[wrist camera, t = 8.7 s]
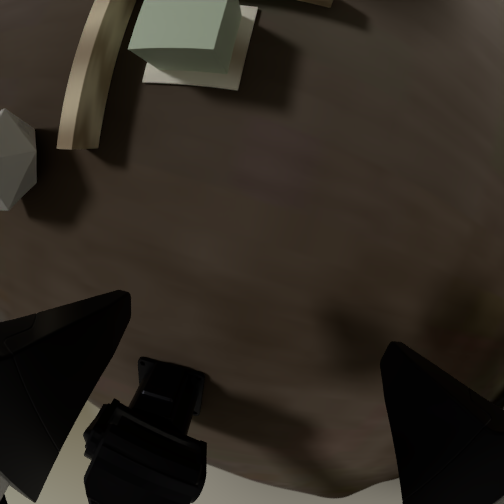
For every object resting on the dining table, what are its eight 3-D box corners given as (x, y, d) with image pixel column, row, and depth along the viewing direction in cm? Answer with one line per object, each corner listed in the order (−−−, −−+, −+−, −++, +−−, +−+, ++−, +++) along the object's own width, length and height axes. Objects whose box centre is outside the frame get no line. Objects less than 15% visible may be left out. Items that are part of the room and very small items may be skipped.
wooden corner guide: (295, 179, 19) (301, 184, 16) (83, 147, 19) (56, 148, 15) (332, -6, 14) (341, -28, 10) (129, -17, 14) (111, -34, 10)
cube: (242, 15, 15) (233, -20, 10) (227, 74, 16) (213, 49, 12) (175, 13, 15) (151, -18, 10) (158, 69, 16) (127, 49, 12)
